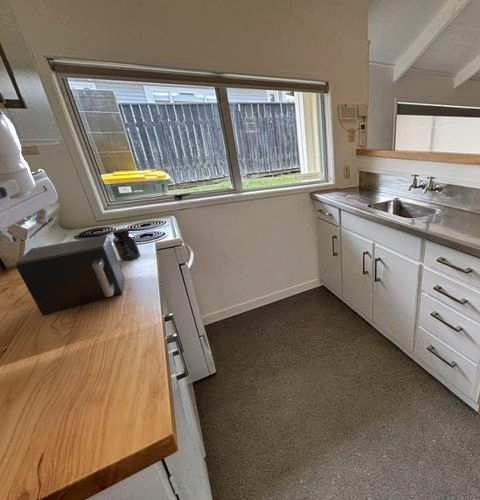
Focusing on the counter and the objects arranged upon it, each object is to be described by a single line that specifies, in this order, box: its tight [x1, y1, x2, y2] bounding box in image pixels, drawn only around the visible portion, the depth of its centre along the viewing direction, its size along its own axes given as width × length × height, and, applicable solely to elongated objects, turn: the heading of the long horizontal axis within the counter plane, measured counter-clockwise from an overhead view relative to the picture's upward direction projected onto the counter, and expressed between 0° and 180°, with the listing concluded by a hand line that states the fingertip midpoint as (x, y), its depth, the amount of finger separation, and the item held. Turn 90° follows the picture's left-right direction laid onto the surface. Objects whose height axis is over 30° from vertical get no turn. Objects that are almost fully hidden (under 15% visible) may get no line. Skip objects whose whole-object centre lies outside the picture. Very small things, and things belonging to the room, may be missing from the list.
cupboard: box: [15, 234, 126, 294], centre depth 86 cm, size 13×18×16 cm
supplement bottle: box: [112, 228, 141, 262], centre depth 113 cm, size 7×7×12 cm
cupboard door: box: [14, 247, 123, 316], centre depth 78 cm, size 7×18×16 cm, turn 124°
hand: (27, 232), depth 71 cm, fingers open, 8 cm apart
